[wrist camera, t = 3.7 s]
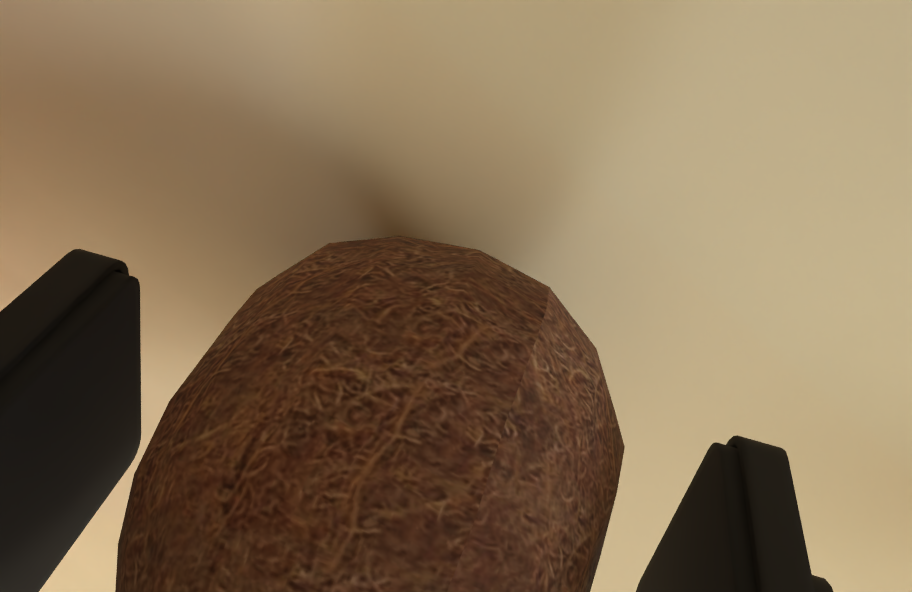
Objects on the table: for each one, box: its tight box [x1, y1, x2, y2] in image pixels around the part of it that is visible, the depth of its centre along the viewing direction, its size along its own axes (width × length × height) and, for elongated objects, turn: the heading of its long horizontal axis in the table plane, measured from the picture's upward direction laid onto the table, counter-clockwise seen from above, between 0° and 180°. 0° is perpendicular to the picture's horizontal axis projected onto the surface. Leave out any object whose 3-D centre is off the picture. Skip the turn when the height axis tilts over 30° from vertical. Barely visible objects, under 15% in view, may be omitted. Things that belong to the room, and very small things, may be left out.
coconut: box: [116, 236, 625, 592], centre depth 10 cm, size 5×5×8 cm
